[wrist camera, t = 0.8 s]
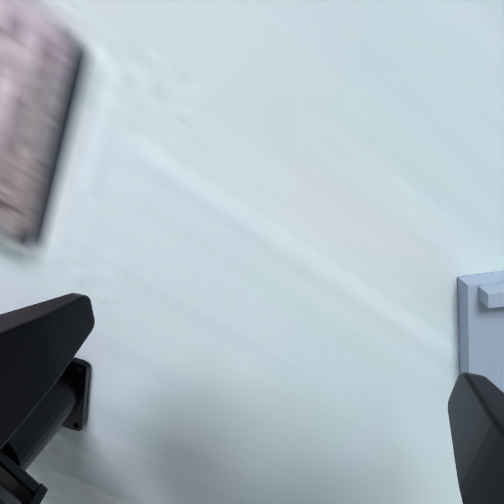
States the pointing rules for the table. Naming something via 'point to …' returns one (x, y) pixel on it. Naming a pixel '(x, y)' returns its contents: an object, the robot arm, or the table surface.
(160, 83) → the table surface
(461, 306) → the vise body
